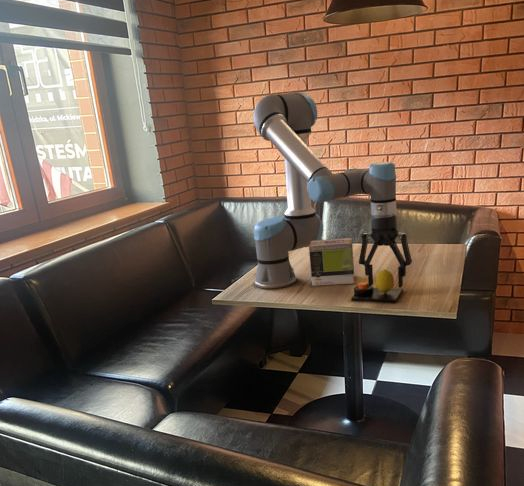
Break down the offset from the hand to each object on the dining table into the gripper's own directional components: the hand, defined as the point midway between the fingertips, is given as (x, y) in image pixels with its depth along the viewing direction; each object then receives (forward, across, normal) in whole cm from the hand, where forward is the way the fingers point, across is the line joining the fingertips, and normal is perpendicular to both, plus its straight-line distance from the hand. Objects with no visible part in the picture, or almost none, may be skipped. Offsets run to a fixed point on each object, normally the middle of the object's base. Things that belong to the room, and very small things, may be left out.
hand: (385, 285), depth 171 cm
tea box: (+4, -22, +14) cm, 27 cm away
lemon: (+3, 0, 0) cm, 3 cm away
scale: (+4, -3, 0) cm, 5 cm away
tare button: (+1, -7, 0) cm, 7 cm away
